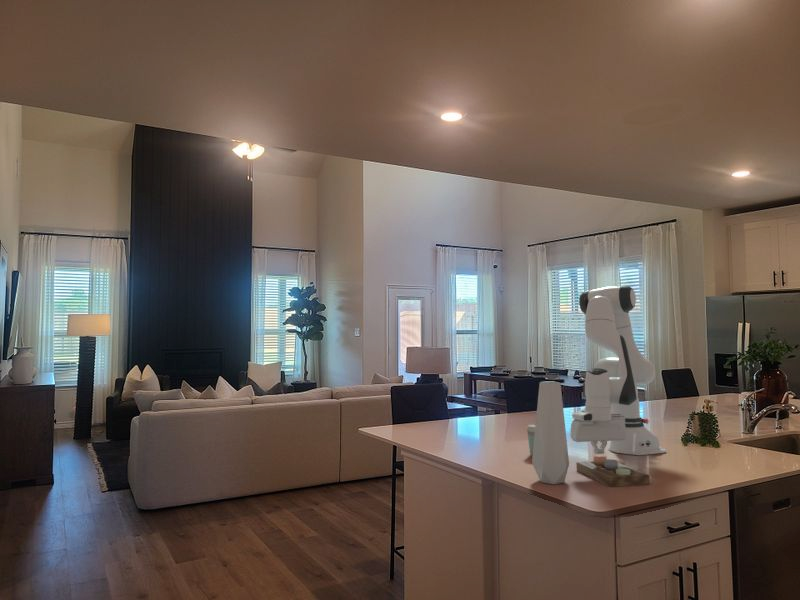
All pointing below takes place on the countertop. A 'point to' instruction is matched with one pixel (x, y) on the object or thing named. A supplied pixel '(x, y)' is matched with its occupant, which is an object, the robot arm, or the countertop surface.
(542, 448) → the white faceted column
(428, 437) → the countertop surface
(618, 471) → the button sage
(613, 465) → the button grey
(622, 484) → the panel
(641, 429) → the robot arm
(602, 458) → the button terracotta
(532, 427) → the coffee cup
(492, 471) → the countertop surface
